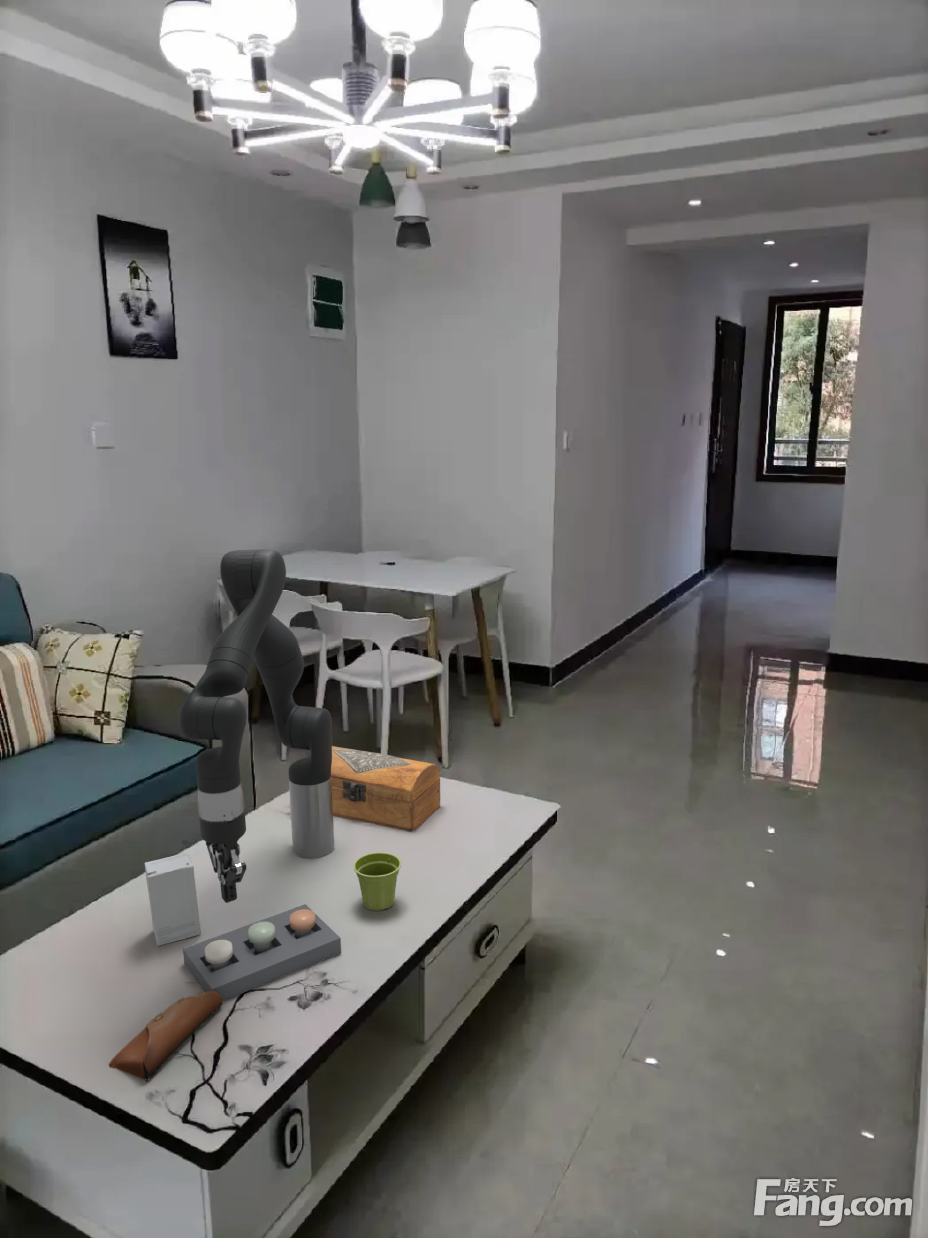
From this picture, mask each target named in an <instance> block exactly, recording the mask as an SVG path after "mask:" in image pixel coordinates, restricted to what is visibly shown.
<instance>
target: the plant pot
mask: <svg viewBox="0 0 928 1238" xmlns="http://www.w3.org/2000/svg"><path fill="white" fill-rule="evenodd" d="M352 867H353V870H354V872H355V873H356V876H357V878H358V883H359V887H360V888H359V889H360V894H361V898H362V902H363V906H365V907H366V909H367V910H370V911H378V912H379V911H382V910H385V909H389V908H391V907H392V906H394V902H395V897H396V890H397V889H396V888H397V879H398V875H399V871H400V869H401V867H402V861H401V859H400V858H399V857H398V856H397V855H395V854H392V853H390V852H384V851H383V852H378V851H376V852H371V853H370V852H369V853H367V854H364V855H361V856H360V857H358V858H357V859H356V860H355V861H354V863H353V866H352Z"/></svg>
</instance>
